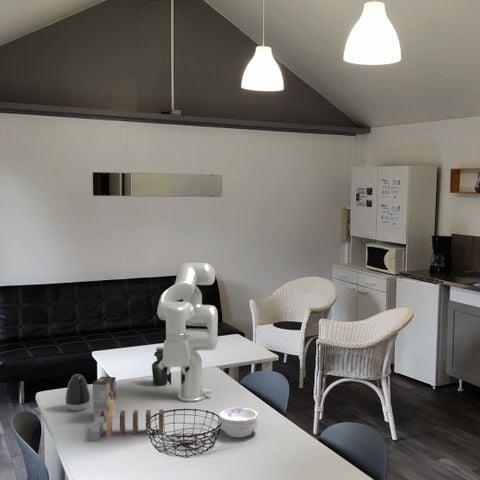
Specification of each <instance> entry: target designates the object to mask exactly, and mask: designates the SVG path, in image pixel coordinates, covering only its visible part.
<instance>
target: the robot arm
mask: <svg viewBox="0 0 480 480" xmlns="http://www.w3.org/2000/svg"><path fill="white" fill-rule="evenodd" d="M175 278H176V279H175V282H174V284H173V285H171V286H170V287H168V288H167V289H166V290H164V291H163V292H162V294H161V295H160V298H159V301H158V305H157V313H156V314H157V316H158V318H159V319H160V320H162V321H165V337H166V338H165V340H164V342H163V346H162V347H163V359H162V360H161V362H160V363H159V365H158V367H159V368H161V369H162V370H163V371H164V372H166V373H167V383H168V385H170V386H171V385H172V372H171V369H172V368H180V392H179V393H178V394H177V399H178V400H179V401H182V402H186V403H187V402H189V403H191V402H192V403H193V402H199V401H202V400H204V399H205V398H206V394H207V395H211V394H213V390H212V388H211V389H210V388H204V387H203V383H202V382H203V381H202V380H203V377H202V376H203V374H202V373H203V364H202V363H203V362H202V361H203V360H202V357H201V355H200V353H199V352H198V351H214V350H216V349H217V345H218V332H219V331H218V330H219V329H218V324H219V323H218V322H219V321H218V320H219V316H218V309H217V308H216V306H215V305H212V304H211V305H210V304H203V302H202V301H203V294H202V292H201V290H200V289H199V287H198V286H211V285H213V284H214V283H215V280H216V271H215V268H214V267H213V265H212V264H210V263H207V262H184V263H182V264H181V265H180V266H179V267H178V269H177V270H176V277H175ZM180 300H182V301H180ZM186 326H190V327H191V326H194V327H207V328H187V327H186ZM163 365H164V366H163ZM166 367H168V368H166Z"/></svg>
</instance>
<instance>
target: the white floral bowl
mask: <svg viewBox="0 0 480 480" xmlns="http://www.w3.org/2000/svg"><path fill="white" fill-rule="evenodd" d="M220 423H222V424H221V427H219V428H220V429H221V430H222V431H224V433H225V434H226V435H227V436H229V437H231V438H236V439H238V438H240V439H241V438H245V437H248V436H251V434H252V433H253V431H255V430H257V428H258V426H259V414H258V411H256V410H255V409H252V408H249V407H248V408H247V407H230V408H225V409H223V410H221V411H220V412H219V414H218V425H219V424H220Z"/></svg>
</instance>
